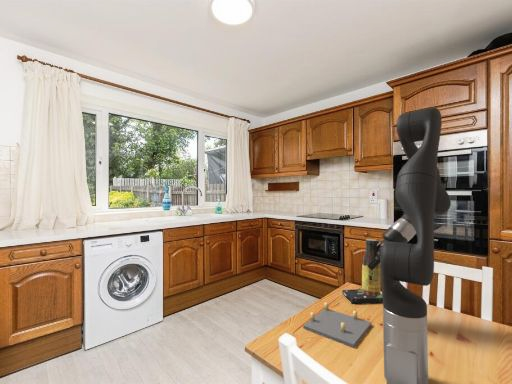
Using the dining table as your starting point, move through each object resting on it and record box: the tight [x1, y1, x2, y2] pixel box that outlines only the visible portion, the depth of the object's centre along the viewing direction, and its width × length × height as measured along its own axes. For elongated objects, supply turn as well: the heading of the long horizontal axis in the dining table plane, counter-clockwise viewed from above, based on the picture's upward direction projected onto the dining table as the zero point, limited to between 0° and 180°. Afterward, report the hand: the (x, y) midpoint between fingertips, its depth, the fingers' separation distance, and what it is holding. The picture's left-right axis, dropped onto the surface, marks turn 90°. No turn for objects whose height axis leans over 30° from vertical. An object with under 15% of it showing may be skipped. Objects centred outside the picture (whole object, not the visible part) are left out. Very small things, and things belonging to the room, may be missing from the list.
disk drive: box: [341, 288, 383, 305], centre depth 109 cm, size 10×3×15 cm
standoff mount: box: [302, 301, 373, 349], centre depth 86 cm, size 17×17×4 cm
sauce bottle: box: [361, 238, 382, 296], centre depth 93 cm, size 6×6×20 cm
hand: (366, 265), depth 93 cm, fingers closed on sauce bottle, 6 cm apart
